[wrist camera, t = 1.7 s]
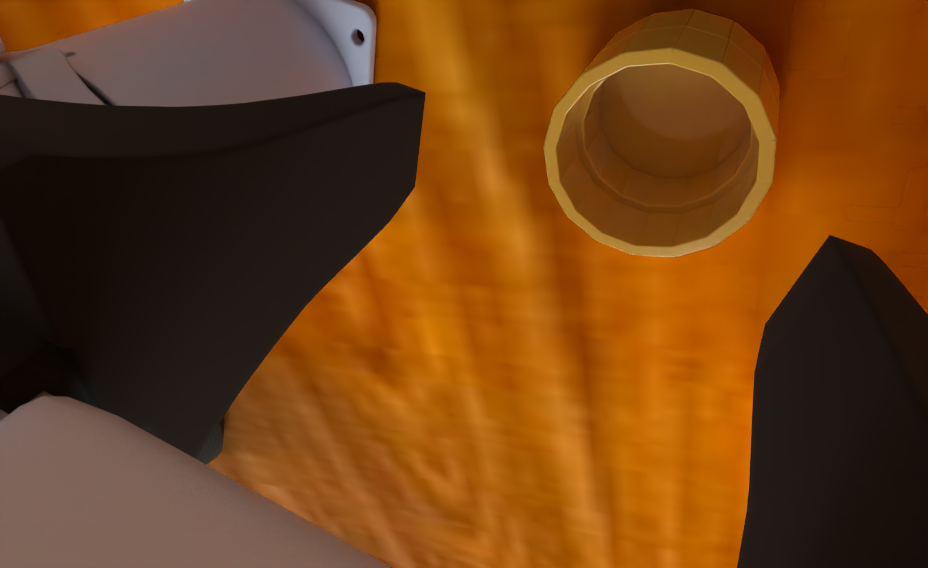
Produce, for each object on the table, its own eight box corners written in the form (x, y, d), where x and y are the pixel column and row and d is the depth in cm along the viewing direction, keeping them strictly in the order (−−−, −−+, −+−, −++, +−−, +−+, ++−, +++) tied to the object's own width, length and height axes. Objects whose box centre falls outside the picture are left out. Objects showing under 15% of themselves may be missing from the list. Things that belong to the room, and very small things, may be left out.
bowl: (724, 210, 19) (710, 286, 16) (565, 153, 20) (524, 213, 17) (820, 39, 15) (826, 95, 12) (619, -20, 16) (578, 18, 13)
